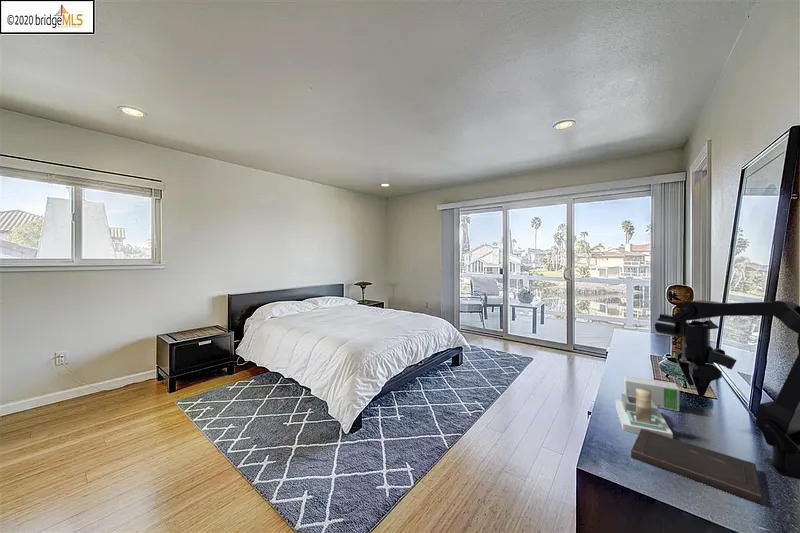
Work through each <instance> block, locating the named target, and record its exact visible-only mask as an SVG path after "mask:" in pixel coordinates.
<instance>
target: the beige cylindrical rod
mask: <svg viewBox="0 0 800 533" xmlns="http://www.w3.org/2000/svg"><path fill="white" fill-rule="evenodd" d="M636 420H637V421H638V422H643V423H648V424H651V391H650V390H648V389H645V388H636Z"/></svg>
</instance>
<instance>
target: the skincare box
mask: <svg viewBox="0 0 800 533" xmlns="http://www.w3.org/2000/svg"><path fill="white" fill-rule="evenodd" d="M623 378H624V379H623V394H625V395H631V396H636V388H645V389H648V390H650V391H651V400H652V401H653V403H654V405H655V406H656V407H657V408H658V409H659V408H660V409H665V410H670V411H674V412H675V411H676V412H680V388H679V387H678V385H677V384H676V383H675V382H671V381H669V382H668V381H662V380H657V379H649V378H644V377H636V376H630V375H623Z"/></svg>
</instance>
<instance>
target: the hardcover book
mask: <svg viewBox="0 0 800 533" xmlns="http://www.w3.org/2000/svg"><path fill="white" fill-rule="evenodd" d="M630 458H631V459H634V460H636V461H639V462H641V463H644V464H647V465H650V466H652V467H654V468H655V467H656V468H658V469H660V468H661V470H663V471H666V472H669V471H670V472H669V473H671V472H673V473H672V474H674V473H676V474H675V475H677V474H678V475H677V476H680V475H682V476H684V477H683V478H685V477H687V478H686V479H688V478H689V479H688V480H690V479H692V480H691V481H693V480H694V481H693V482H696V483H699V482H700V483H699V484H701V483H703V484H702V485H704V484H706V485H705V486H707V485H708V486H707V487H710V486H711V488H712V487H713V488H712V489H715V488H716V489H715V490H718V489H719V490H718V491H720V490H722V491H721V492H723V491H724V493H726V492H727V493H726V494H729V493H730V494H729V495H731V494H732V496H734V495H735V497H737V498H740V499H742V498H743V500H745V501H748V502H751V503H753V502H755V503H754V504H756V503H757V504H756V505H759V504H760V505H759V506H762V494H761V488H760V481H759V476H758V470H757V464H756V463H754V462H751V461H747V460H743V459H741V458H738V457H734V456H732V455H728V454H724V453H721V452H717V451H715V450H712V449H711V450H710V449H709V448H705V447H702V446H698V445H694V444H691V443H688V442H686V441H682V440H679V439H675V438H674V437H673V438H669V437H666V436H663V435H660V434H656V433H653V432H650V431H647V430H643V429H641V431H640V433H639V434H637V438H636V440H635V442H634V444H633V446H632V449H631V451H630ZM682 476H681V477H682Z"/></svg>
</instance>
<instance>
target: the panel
mask: <svg viewBox="0 0 800 533" xmlns="http://www.w3.org/2000/svg"><path fill="white" fill-rule="evenodd" d="M614 406H615V410H616V412H617V415H618V419H619V422H620V425H621V428H622V431H623V432H629V433H633V434H637V435H639V433H640V431H641V429H643V430H647V431H650V432H653V433H656V434H660V435H663V436H666V437H669V438H673V439H674V434H673V431H672V430H671V429H670V427H669V425H668V424H667V422H666V420H665V418H664V417H663V415H662V413H661V411H660V410H659V407H656V406H655V405H654V403H653V401H652V400H651V424H648V423H643V422H638V421H637V420H636V396H631V395H625V394H624V393H621V399H618V398H616V399H614Z"/></svg>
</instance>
